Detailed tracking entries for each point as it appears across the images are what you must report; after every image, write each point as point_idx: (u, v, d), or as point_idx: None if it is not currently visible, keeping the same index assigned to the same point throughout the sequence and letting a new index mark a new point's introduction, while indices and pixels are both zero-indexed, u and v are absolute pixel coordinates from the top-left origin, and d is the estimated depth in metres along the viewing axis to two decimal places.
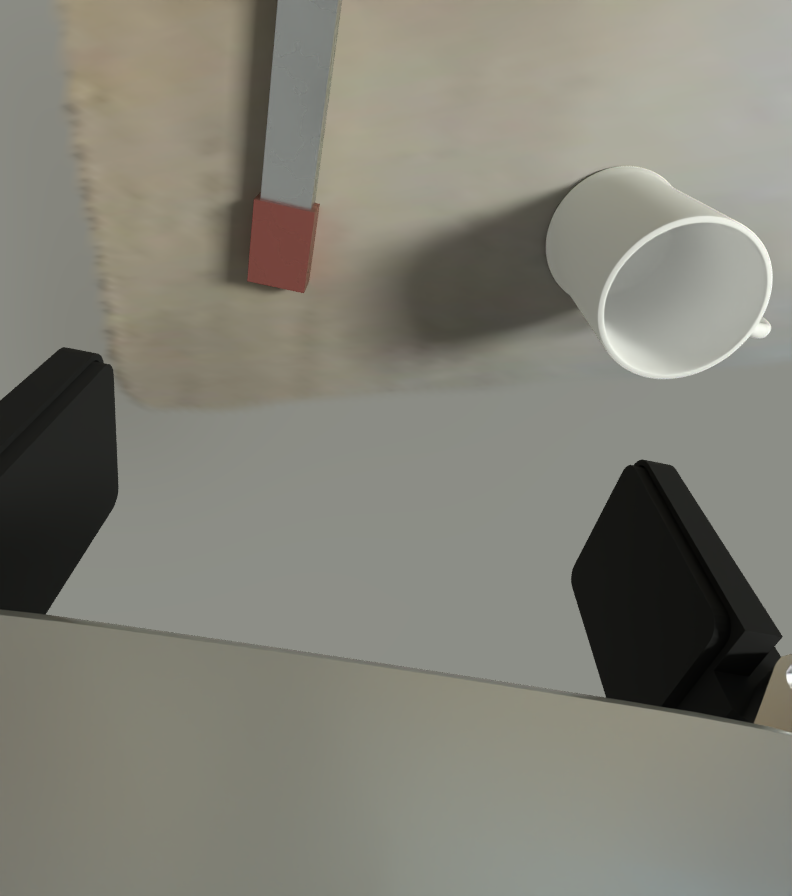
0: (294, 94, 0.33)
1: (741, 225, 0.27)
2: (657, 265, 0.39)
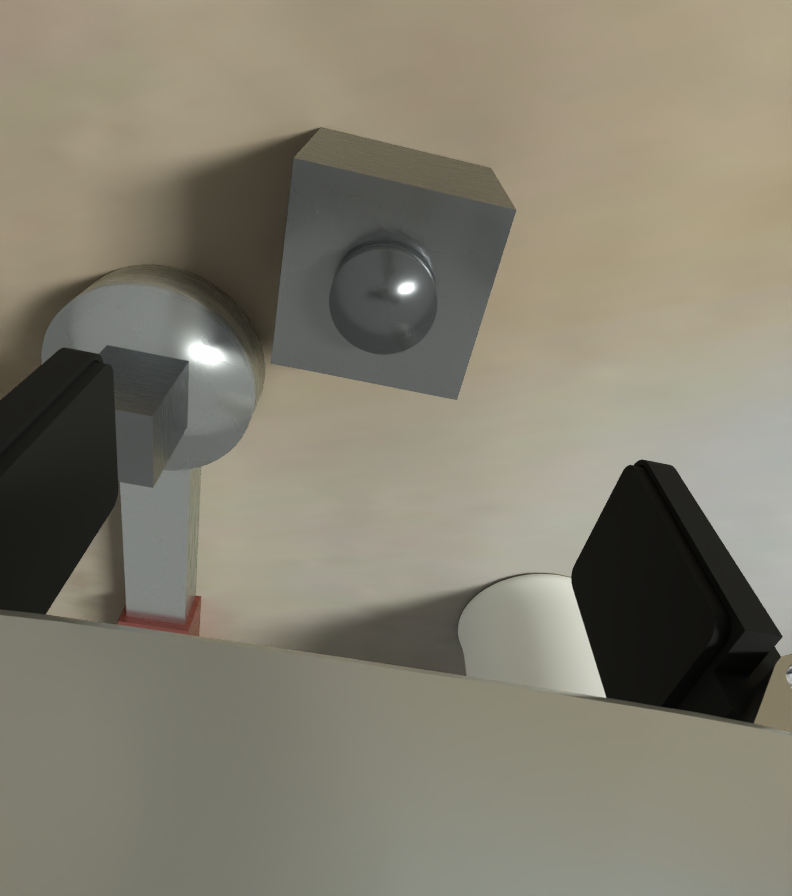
0: (151, 540, 0.29)
1: None
2: None
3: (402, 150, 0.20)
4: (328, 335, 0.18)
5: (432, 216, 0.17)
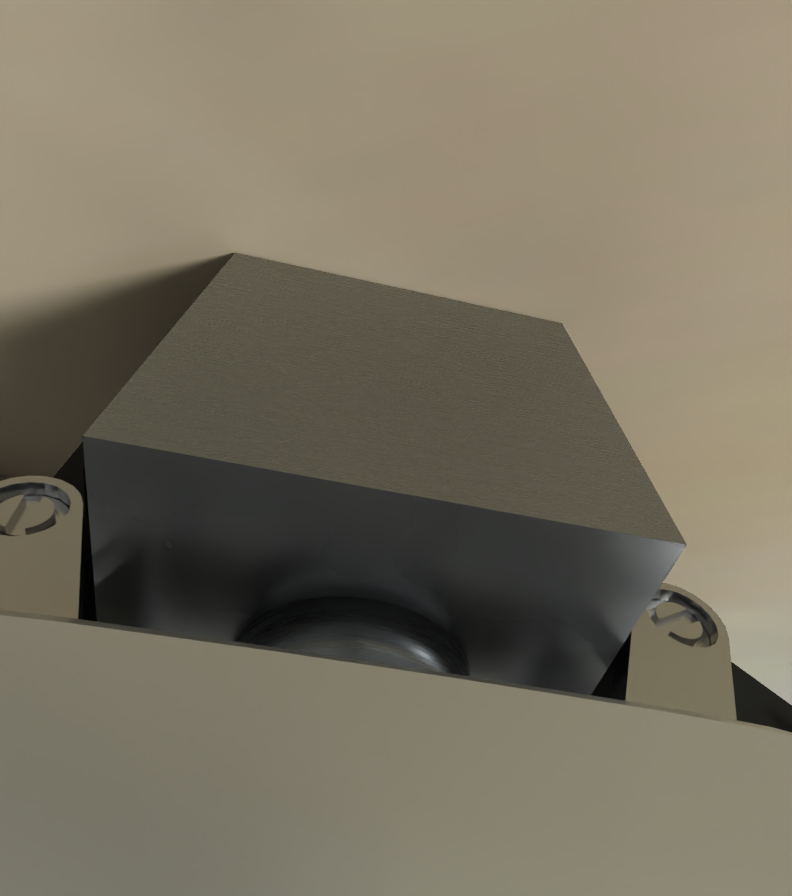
0: None
1: None
2: None
3: (393, 301, 0.10)
4: None
5: (467, 555, 0.06)
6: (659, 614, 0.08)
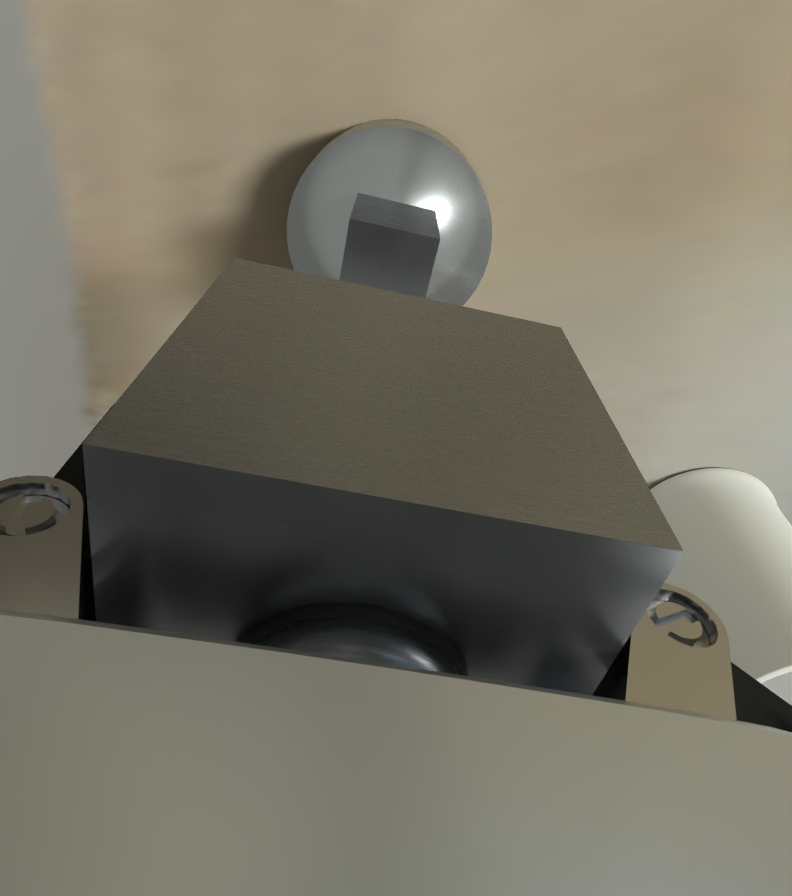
0: None
1: None
2: None
3: (392, 306, 0.10)
4: None
5: (466, 562, 0.06)
6: (659, 614, 0.08)
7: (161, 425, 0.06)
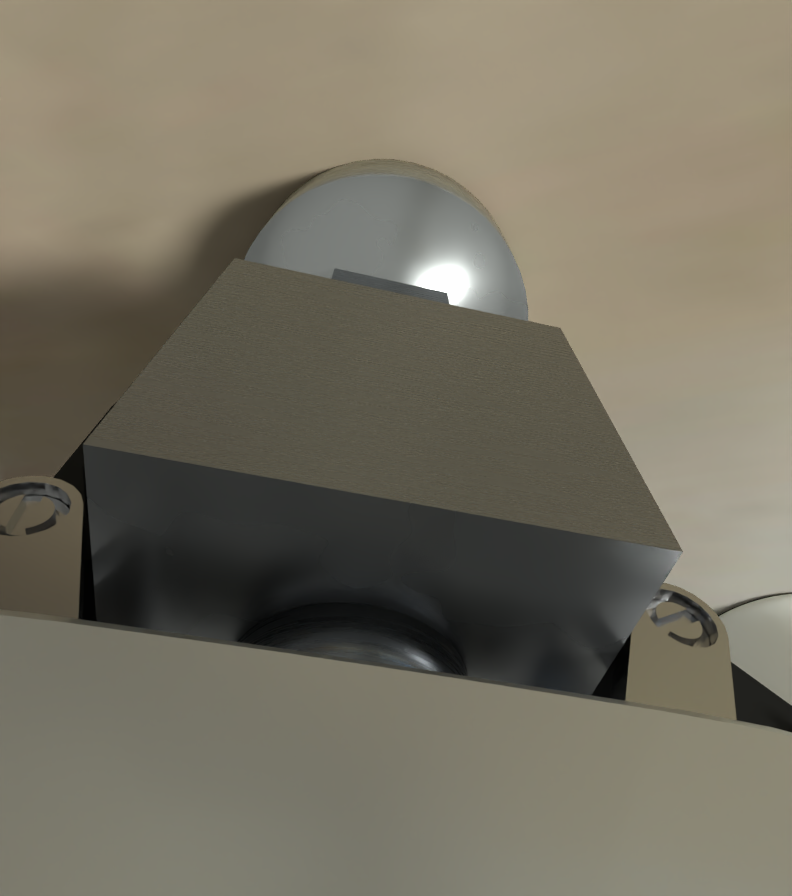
0: None
1: None
2: None
3: (392, 306, 0.10)
4: None
5: (465, 562, 0.06)
6: (658, 614, 0.08)
7: (161, 425, 0.06)
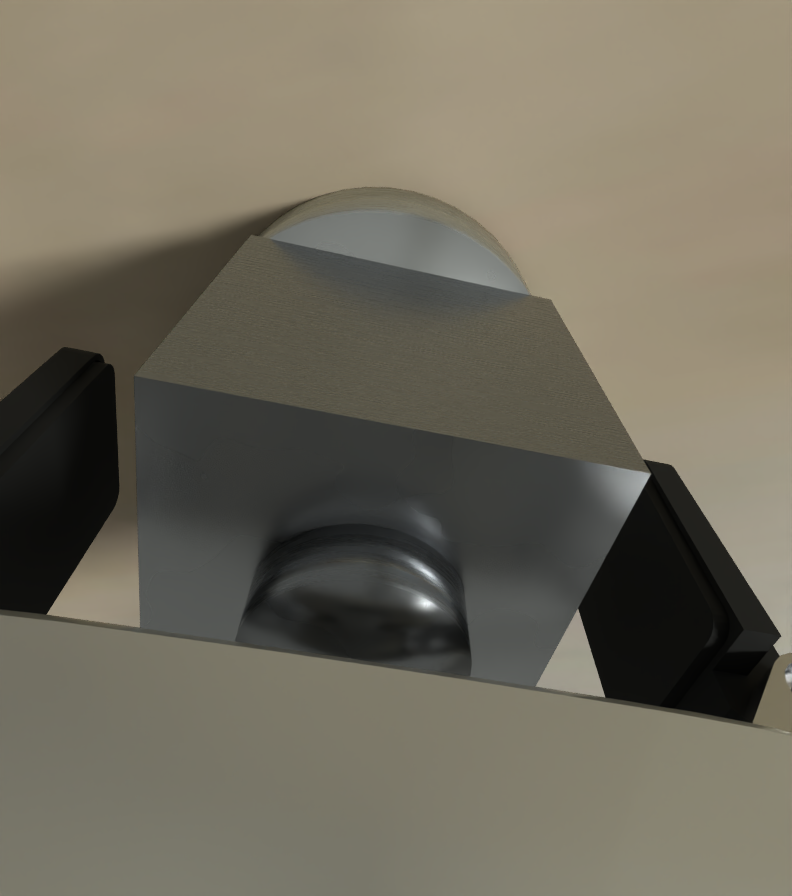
0: None
1: None
2: None
3: (395, 278, 0.11)
4: None
5: (463, 485, 0.07)
6: None
7: (198, 364, 0.07)
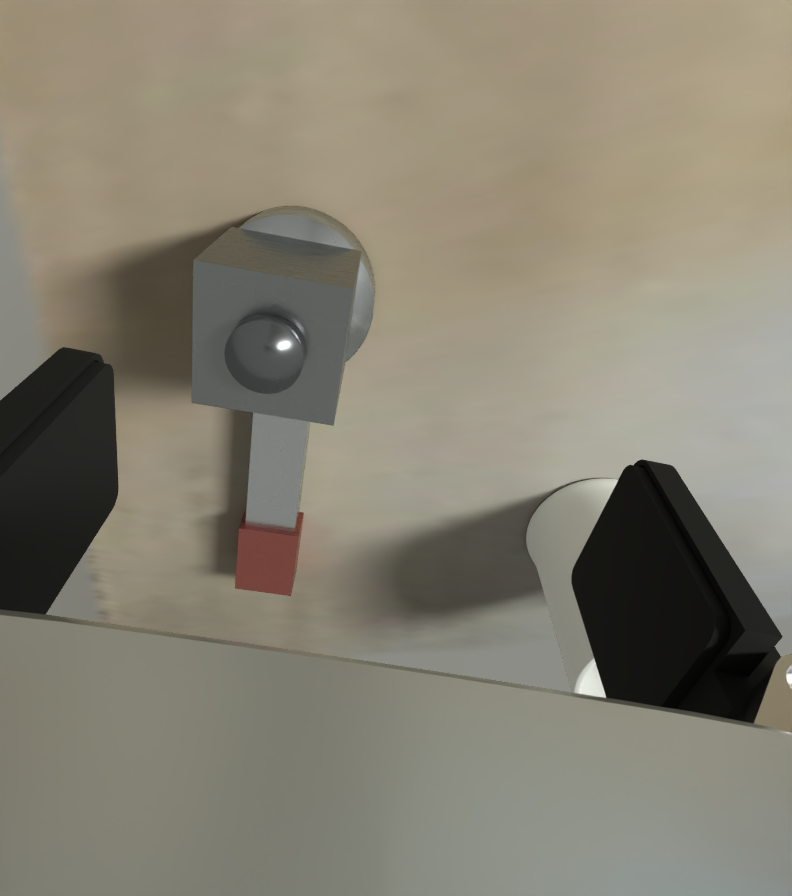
0: (274, 448, 0.34)
1: None
2: None
3: (291, 242, 0.27)
4: (231, 381, 0.25)
5: (295, 296, 0.23)
6: None
7: (211, 259, 0.23)
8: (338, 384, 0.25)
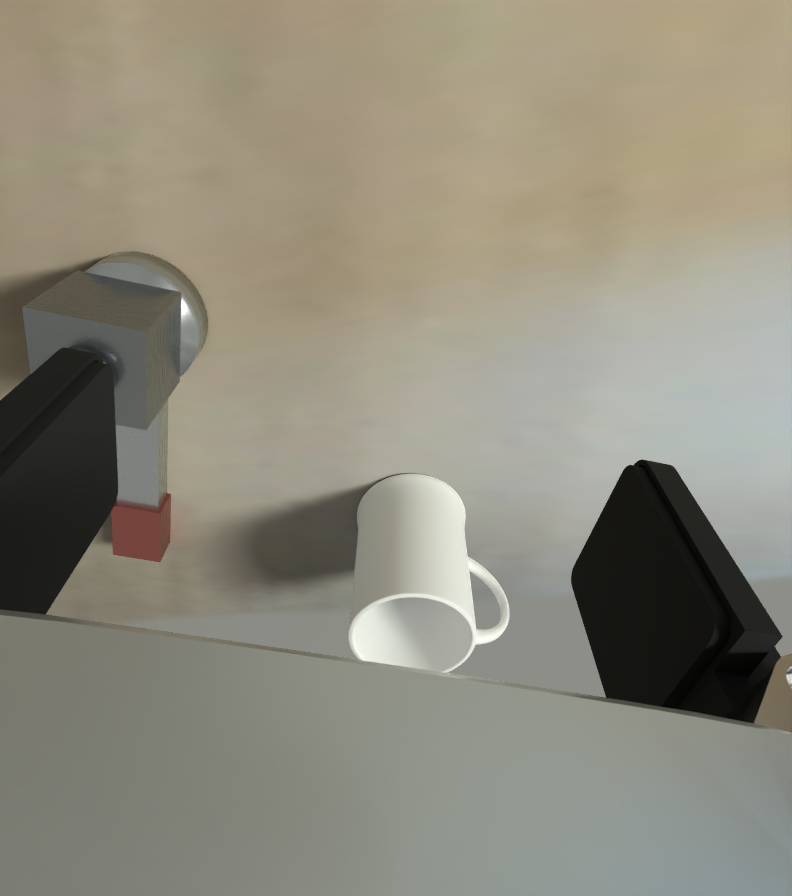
0: (133, 442, 0.42)
1: (440, 598, 0.36)
2: None
3: (121, 284, 0.35)
4: None
5: (102, 334, 0.31)
6: None
7: (38, 305, 0.31)
8: (145, 400, 0.33)
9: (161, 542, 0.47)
